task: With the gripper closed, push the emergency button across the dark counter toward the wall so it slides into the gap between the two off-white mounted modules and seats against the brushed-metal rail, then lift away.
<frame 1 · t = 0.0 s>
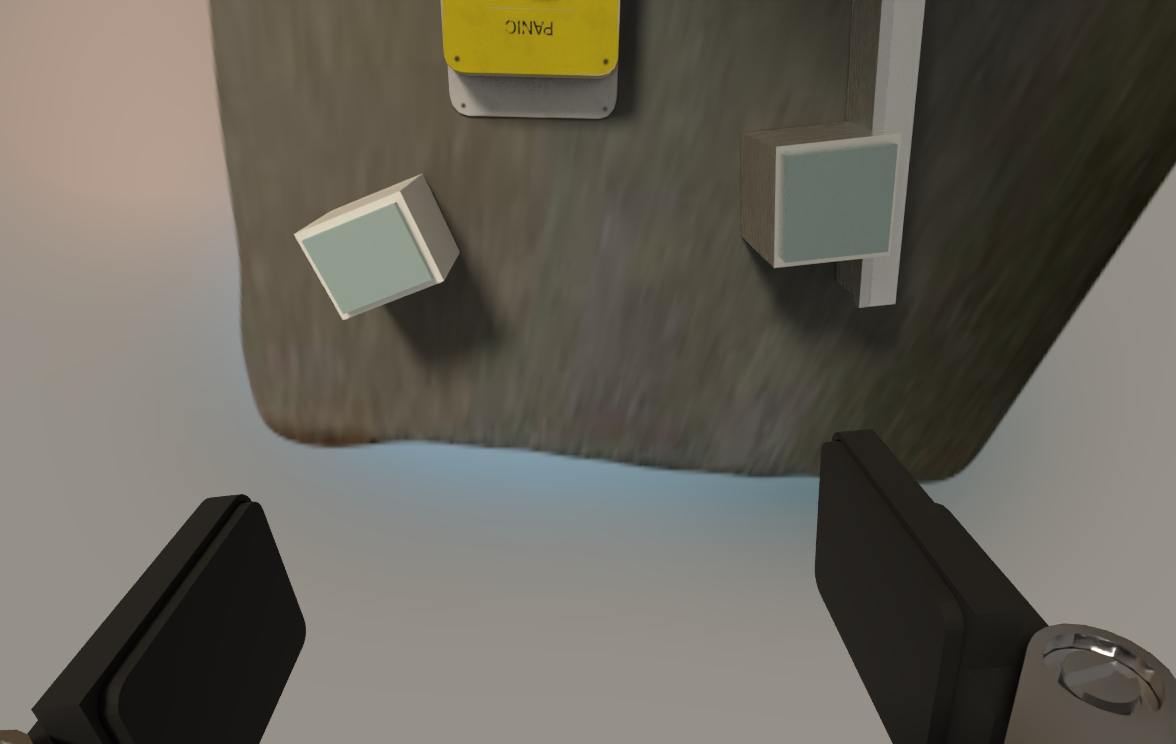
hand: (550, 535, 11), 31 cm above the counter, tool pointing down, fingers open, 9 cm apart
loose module: (396, 231, 40), on the counter
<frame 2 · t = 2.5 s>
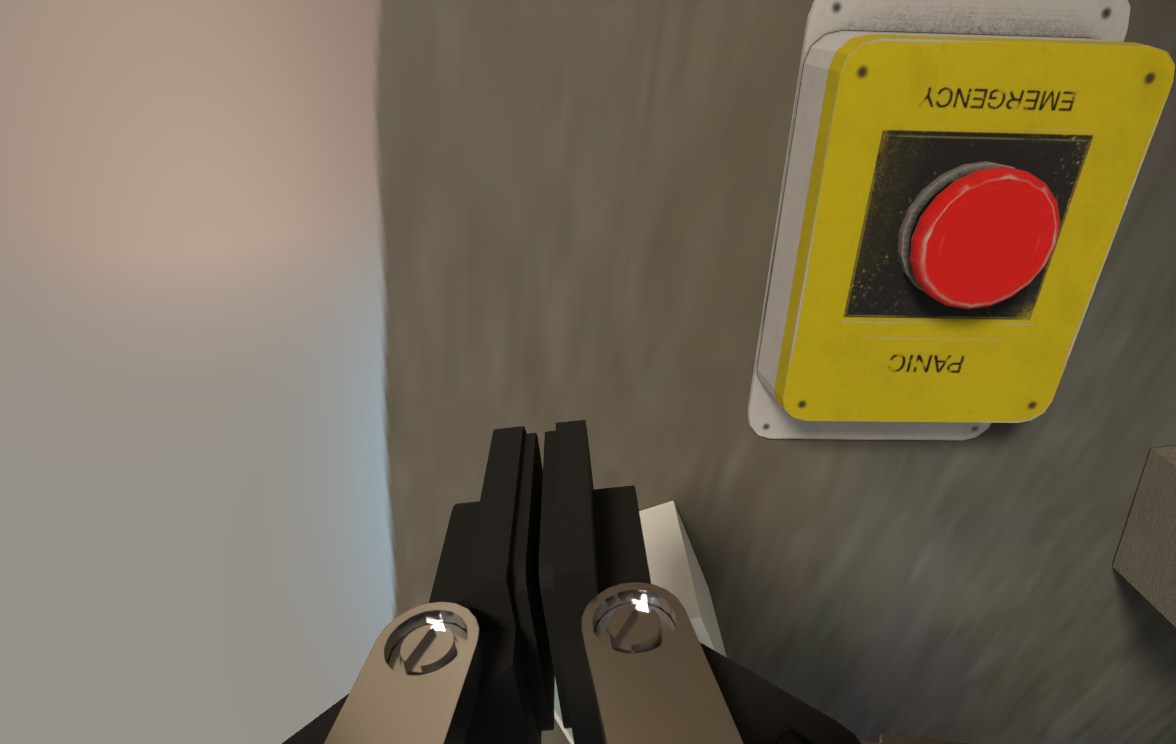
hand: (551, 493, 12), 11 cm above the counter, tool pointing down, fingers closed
emergency button: (903, 237, 23), on the counter
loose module: (622, 566, 28), on the counter
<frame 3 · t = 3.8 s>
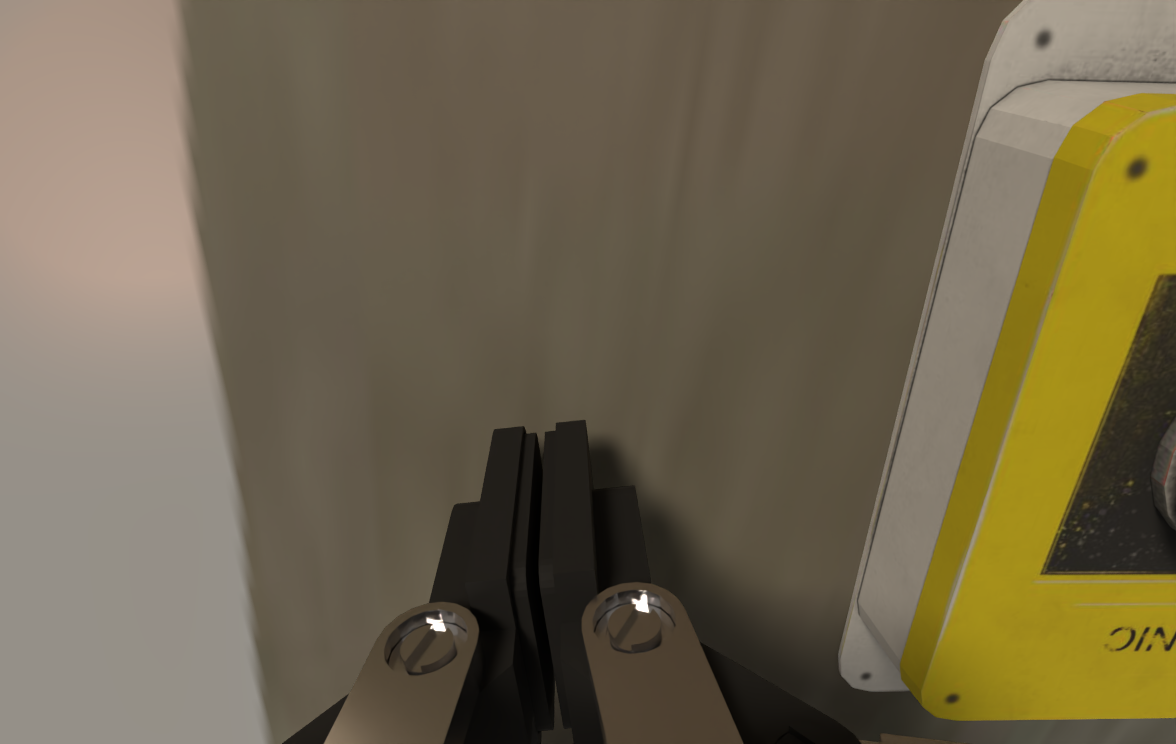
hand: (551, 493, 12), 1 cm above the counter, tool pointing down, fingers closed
emergency button: (1098, 402, 14), on the counter
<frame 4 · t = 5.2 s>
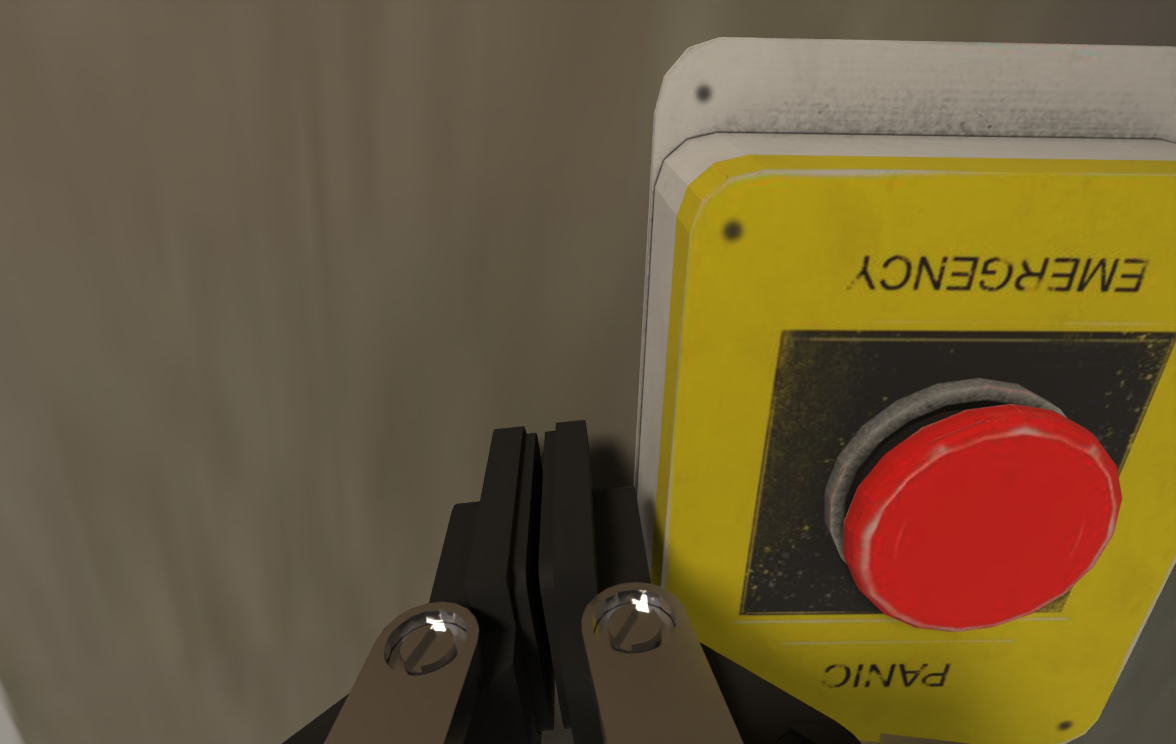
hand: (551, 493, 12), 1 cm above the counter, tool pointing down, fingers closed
emergency button: (850, 437, 14), on the counter
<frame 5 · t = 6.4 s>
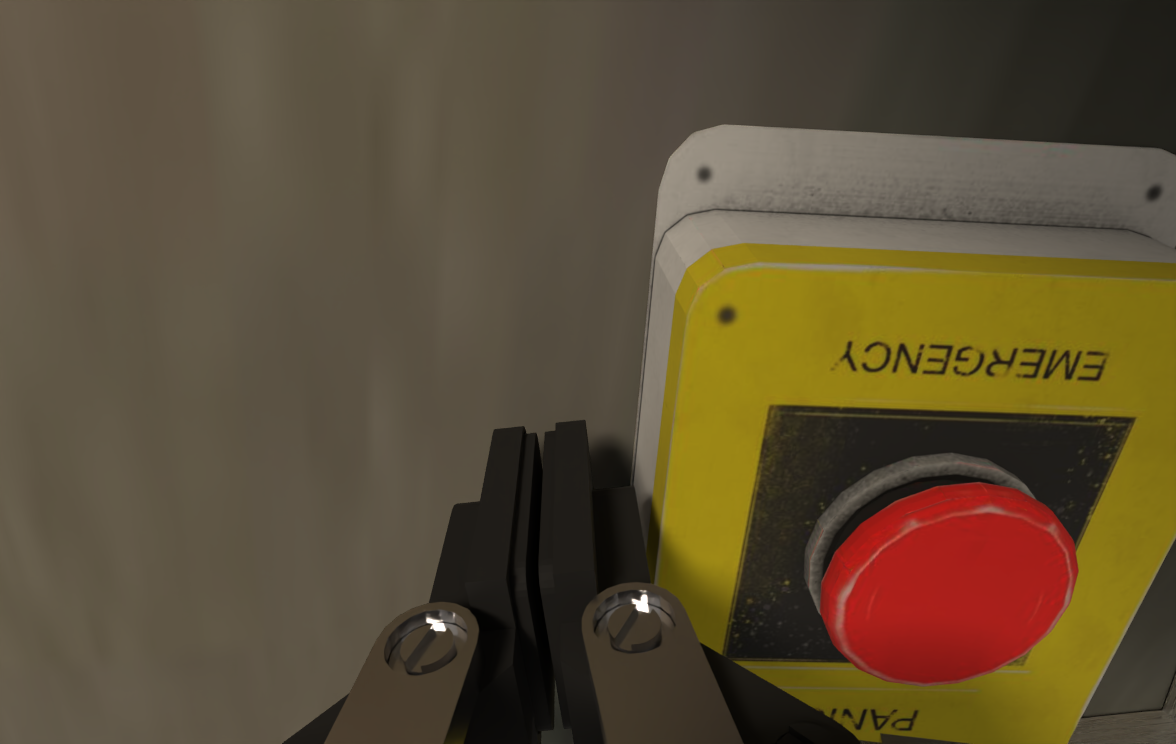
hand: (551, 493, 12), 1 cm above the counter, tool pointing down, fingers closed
emergency button: (832, 487, 15), on the counter, touching gripper
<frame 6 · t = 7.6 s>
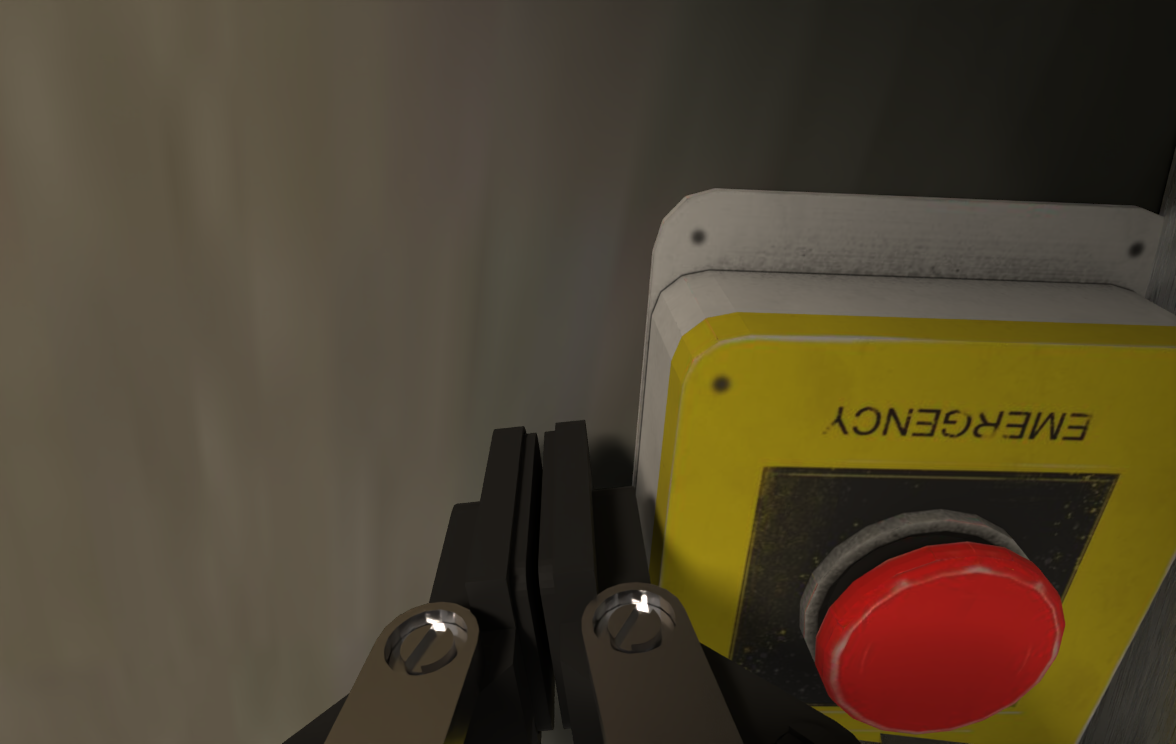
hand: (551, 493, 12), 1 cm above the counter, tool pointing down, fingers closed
rail fixture: (1152, 390, 13), on the counter
emergency button: (827, 527, 15), on the counter, touching gripper
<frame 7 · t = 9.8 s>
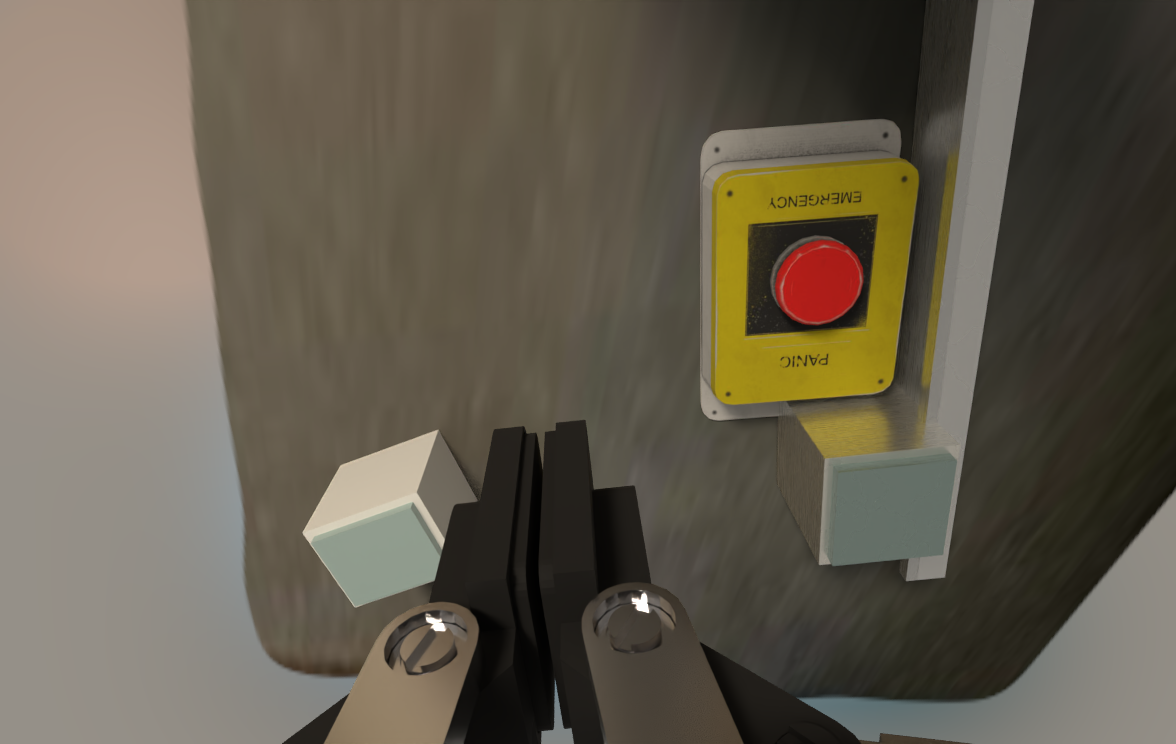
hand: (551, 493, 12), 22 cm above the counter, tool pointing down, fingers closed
rail fixture: (922, 197, 32), on the counter
emergency button: (788, 278, 34), on the counter
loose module: (410, 482, 38), on the counter
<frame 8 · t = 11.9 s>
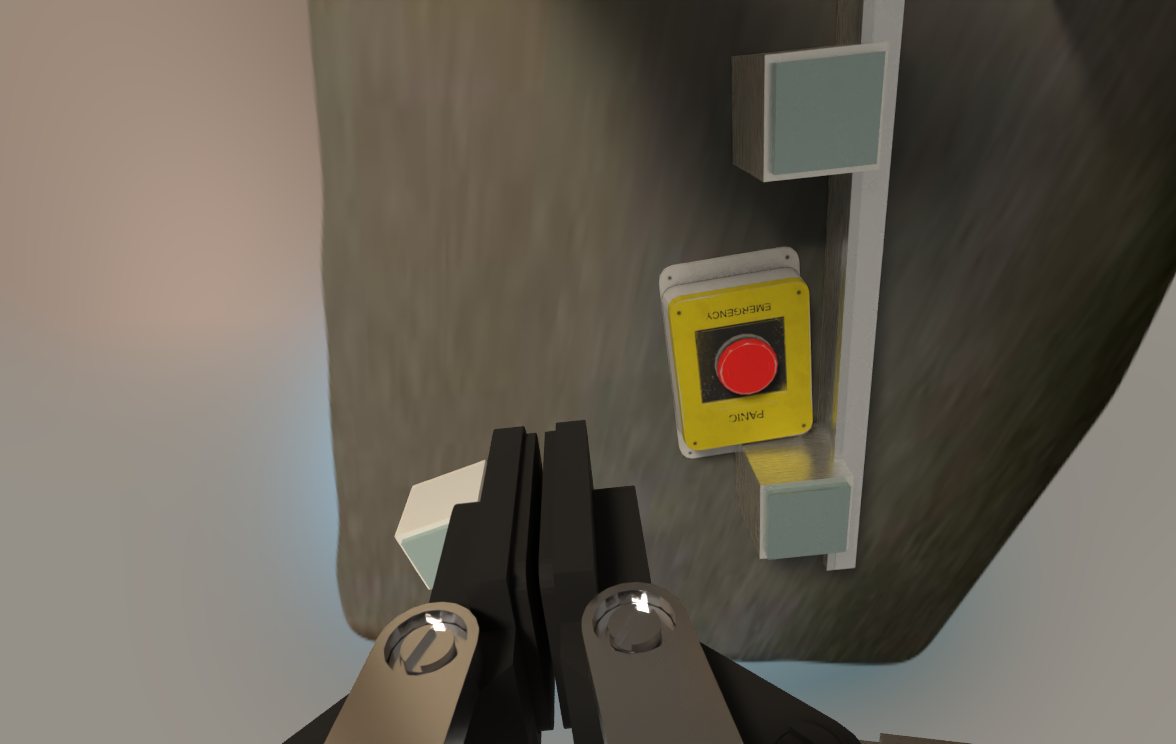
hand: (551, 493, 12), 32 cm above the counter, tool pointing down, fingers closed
rail fixture: (833, 298, 45), on the counter
emergency button: (733, 355, 47), on the counter
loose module: (463, 498, 51), on the counter
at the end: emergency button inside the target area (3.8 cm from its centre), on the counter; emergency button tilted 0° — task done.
